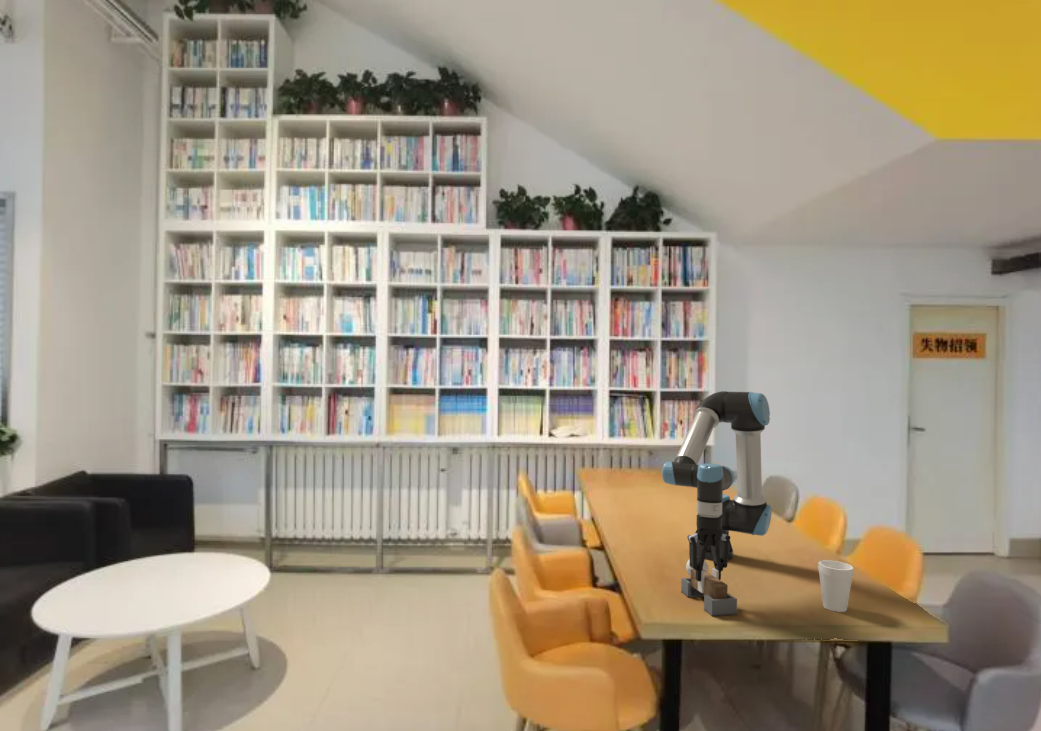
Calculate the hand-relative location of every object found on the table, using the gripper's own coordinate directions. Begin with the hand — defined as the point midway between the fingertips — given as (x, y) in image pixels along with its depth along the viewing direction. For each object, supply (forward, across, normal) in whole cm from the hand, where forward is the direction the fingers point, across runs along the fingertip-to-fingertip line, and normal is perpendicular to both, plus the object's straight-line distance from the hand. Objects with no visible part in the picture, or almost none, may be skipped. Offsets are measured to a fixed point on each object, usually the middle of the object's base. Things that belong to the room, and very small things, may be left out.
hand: (707, 590), depth 183 cm
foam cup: (+4, +37, -10) cm, 38 cm away
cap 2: (+4, 0, -7) cm, 8 cm away
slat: (+1, 0, 0) cm, 1 cm away
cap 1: (+4, 0, +7) cm, 8 cm away
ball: (+4, +8, +20) cm, 21 cm away
